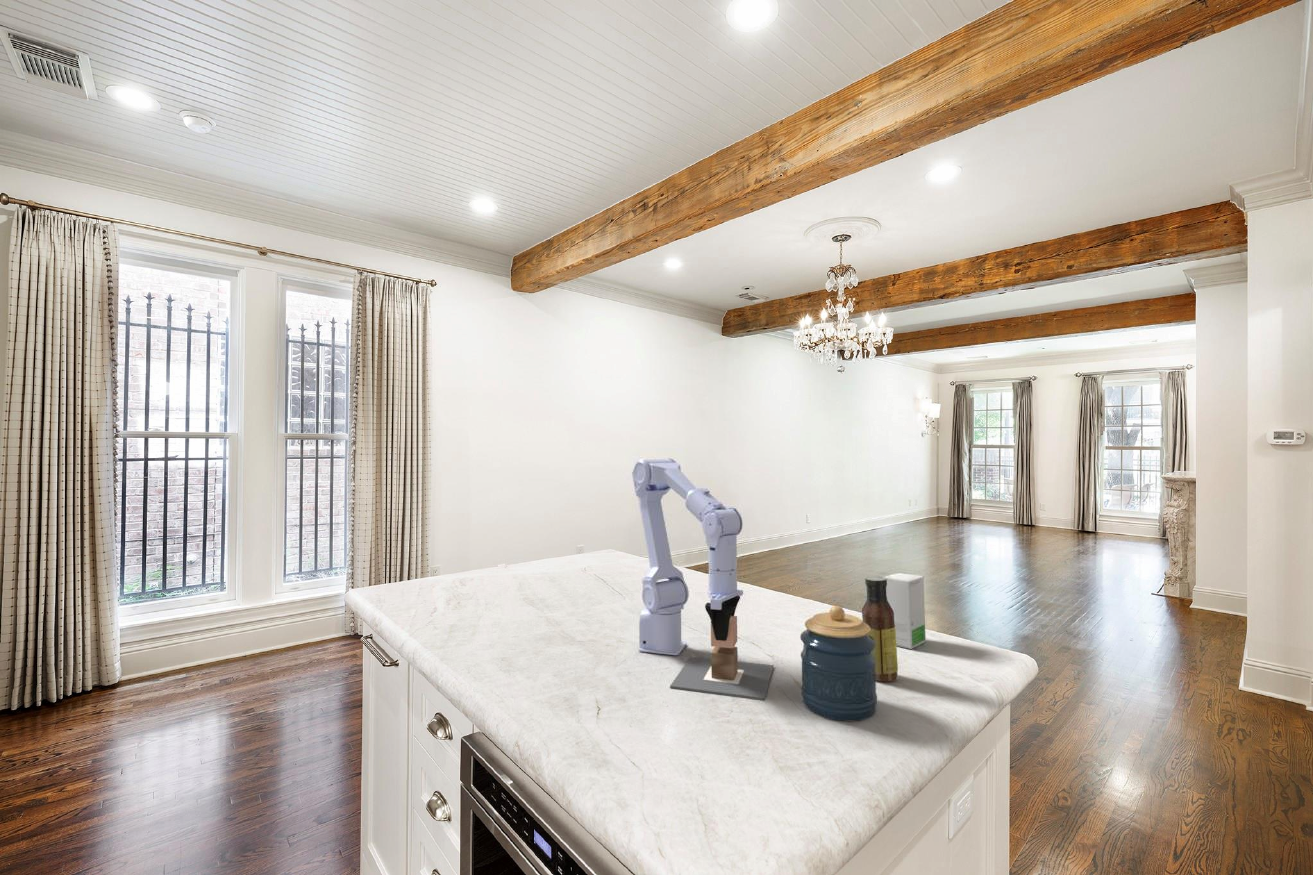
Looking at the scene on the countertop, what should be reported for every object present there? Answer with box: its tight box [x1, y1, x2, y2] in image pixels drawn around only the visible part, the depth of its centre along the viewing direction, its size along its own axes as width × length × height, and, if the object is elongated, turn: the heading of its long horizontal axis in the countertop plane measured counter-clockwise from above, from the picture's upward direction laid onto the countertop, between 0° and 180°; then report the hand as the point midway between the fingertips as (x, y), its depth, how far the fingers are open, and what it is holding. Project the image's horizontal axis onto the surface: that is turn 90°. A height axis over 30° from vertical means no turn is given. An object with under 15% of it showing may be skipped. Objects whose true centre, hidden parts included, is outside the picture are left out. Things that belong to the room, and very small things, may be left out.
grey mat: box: [669, 655, 775, 701], centre depth 112 cm, size 18×16×1 cm
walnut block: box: [710, 646, 739, 680], centre depth 112 cm, size 4×4×5 cm
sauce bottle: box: [861, 575, 899, 683], centre depth 111 cm, size 7×6×20 cm
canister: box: [799, 605, 878, 722], centre depth 99 cm, size 13×13×18 cm
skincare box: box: [884, 572, 927, 650], centre depth 131 cm, size 8×7×16 cm
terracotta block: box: [710, 615, 738, 648], centre depth 112 cm, size 4×4×5 cm
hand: (723, 635), depth 112 cm, fingers closed on terracotta block, 4 cm apart
